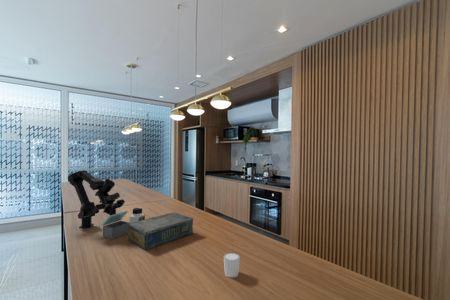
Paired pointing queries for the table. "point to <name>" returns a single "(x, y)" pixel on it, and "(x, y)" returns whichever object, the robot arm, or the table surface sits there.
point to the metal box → (159, 230)
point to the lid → (114, 218)
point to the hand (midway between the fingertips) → (115, 217)
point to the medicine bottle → (137, 215)
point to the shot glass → (231, 264)
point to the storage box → (115, 229)
